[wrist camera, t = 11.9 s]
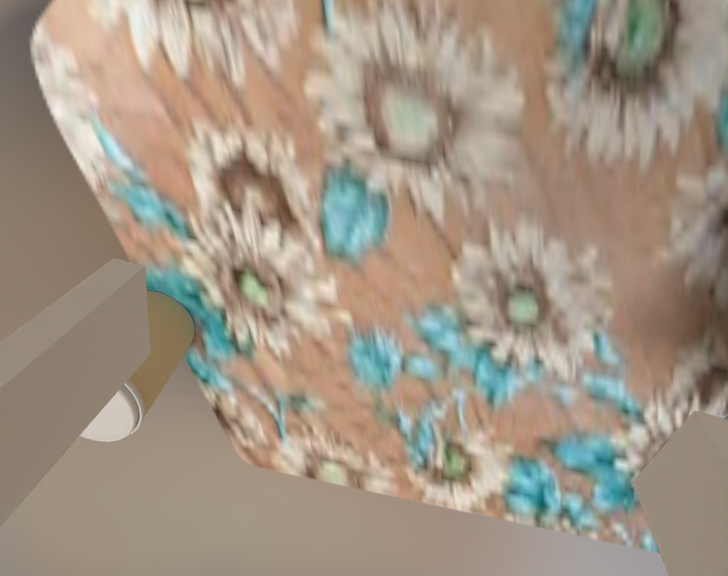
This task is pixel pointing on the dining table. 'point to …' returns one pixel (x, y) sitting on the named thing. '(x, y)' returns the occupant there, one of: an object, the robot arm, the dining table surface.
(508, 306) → the dining table surface
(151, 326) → the coffee cup
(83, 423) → the robot arm
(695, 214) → the dining table surface
